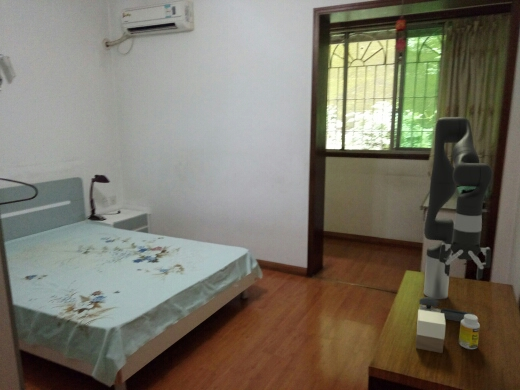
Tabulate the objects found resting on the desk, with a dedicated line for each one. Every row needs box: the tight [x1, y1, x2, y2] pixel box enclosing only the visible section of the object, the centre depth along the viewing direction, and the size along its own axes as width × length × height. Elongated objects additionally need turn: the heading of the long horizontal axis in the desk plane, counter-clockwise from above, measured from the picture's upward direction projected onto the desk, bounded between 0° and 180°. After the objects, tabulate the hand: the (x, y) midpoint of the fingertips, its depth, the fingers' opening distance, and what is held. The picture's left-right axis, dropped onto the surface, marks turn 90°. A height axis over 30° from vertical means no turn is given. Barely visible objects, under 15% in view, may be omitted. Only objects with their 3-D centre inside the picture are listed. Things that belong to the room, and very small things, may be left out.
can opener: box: [418, 296, 475, 323], centre depth 148 cm, size 19×5×6 cm, turn 65°
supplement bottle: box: [458, 314, 481, 350], centre depth 129 cm, size 6×6×10 cm
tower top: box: [416, 309, 446, 340], centre depth 129 cm, size 8×8×5 cm
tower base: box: [415, 329, 445, 354], centre depth 130 cm, size 8×8×5 cm
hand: (462, 277), depth 124 cm, fingers open, 8 cm apart
